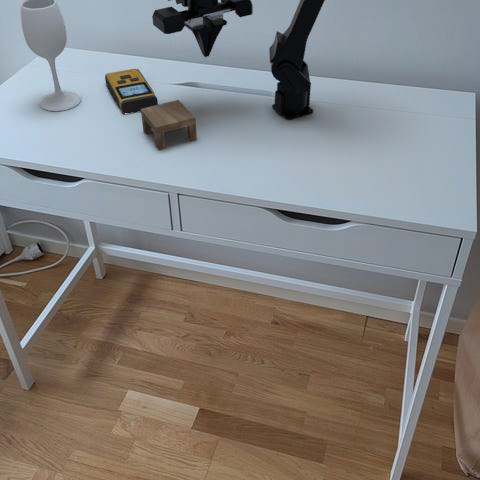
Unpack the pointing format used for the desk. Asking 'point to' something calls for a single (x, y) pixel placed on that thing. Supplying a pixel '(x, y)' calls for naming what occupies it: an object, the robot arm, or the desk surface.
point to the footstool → (168, 120)
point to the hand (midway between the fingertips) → (205, 56)
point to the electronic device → (130, 90)
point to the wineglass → (47, 46)
